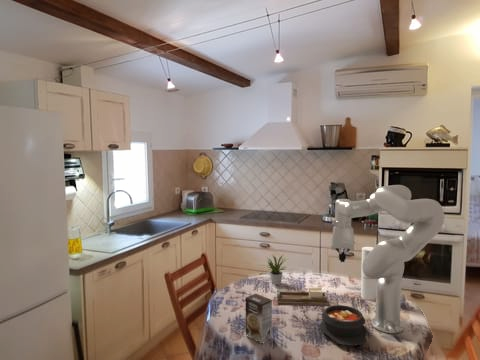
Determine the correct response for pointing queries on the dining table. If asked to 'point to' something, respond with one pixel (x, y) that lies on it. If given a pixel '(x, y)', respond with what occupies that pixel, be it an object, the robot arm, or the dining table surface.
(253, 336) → the coffee box
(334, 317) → the casserole
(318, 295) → the block
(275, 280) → the house plant
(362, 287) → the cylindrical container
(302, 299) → the chute
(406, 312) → the dining table surface
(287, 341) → the dining table surface
